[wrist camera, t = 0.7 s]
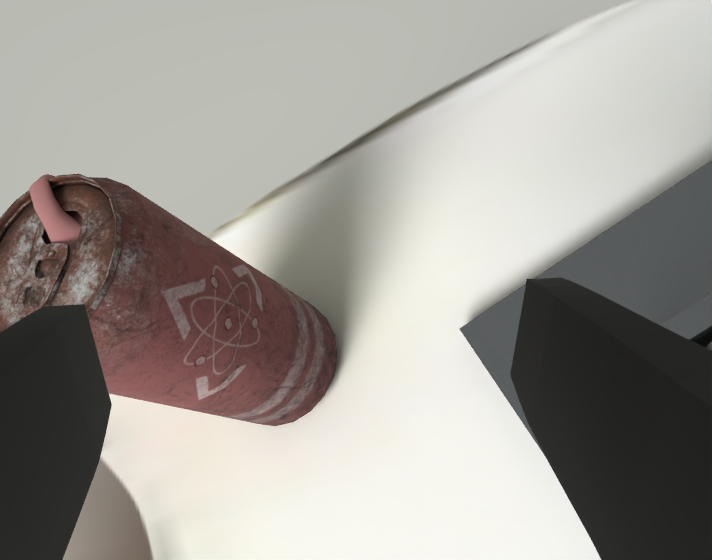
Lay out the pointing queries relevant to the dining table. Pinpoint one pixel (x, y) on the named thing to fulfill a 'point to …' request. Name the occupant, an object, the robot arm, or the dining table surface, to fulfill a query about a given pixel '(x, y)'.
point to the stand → (626, 276)
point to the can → (163, 303)
